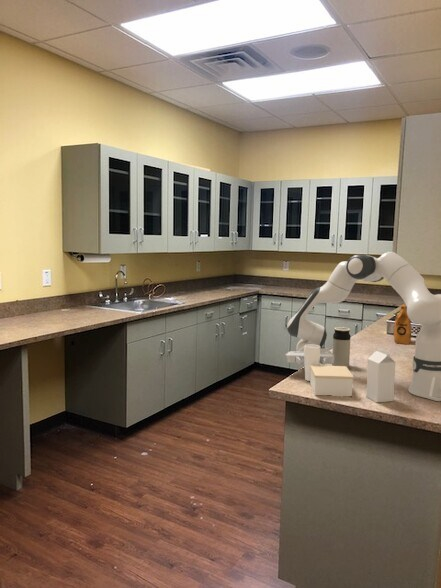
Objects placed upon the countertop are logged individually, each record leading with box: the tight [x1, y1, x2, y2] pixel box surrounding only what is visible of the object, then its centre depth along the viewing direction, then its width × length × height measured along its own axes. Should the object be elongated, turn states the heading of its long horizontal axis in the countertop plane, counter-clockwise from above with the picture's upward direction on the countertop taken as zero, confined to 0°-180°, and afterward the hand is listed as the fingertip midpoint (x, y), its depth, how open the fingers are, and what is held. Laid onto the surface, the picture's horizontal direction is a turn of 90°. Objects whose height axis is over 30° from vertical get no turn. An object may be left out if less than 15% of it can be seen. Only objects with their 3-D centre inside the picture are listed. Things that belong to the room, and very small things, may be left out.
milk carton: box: [365, 347, 396, 404], centre depth 175 cm, size 7×7×19 cm
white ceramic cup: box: [303, 344, 320, 382], centre depth 197 cm, size 7×7×15 cm
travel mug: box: [331, 326, 351, 368], centre depth 221 cm, size 8×8×18 cm
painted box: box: [309, 364, 355, 397], centre depth 185 cm, size 15×15×8 cm
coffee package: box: [393, 303, 412, 345], centre depth 273 cm, size 10×12×22 cm
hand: (312, 362), depth 197 cm, fingers open, 8 cm apart
